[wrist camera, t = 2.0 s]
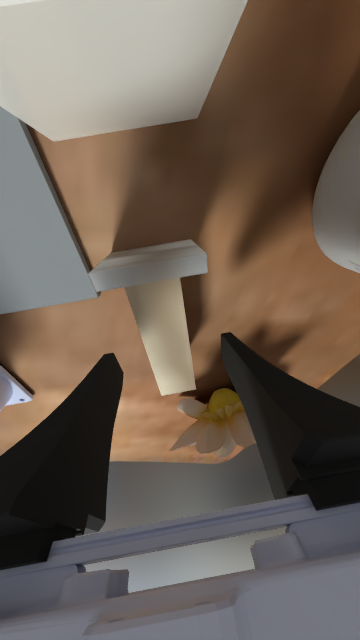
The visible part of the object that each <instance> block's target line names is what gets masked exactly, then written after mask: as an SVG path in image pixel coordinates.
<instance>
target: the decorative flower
mask: <svg viewBox="0 0 360 640" xmlns="http://www.w3.org/2000/svg"><path fill="white" fill-rule="evenodd" d="M177 409H178V410H179V411H181V412H183V413H184V414H186V415H188V416H190V417H193V418H195V419H198V421H196V422H195V423H194V424H192V425H191V426H190V427H189V428H188V429H187V430H186V431H185V432H184V433H183V434H182V435H181V436H180V437H179V439H178V440H177V442H176V443H175V444H174V445H173V447H172V448H171V449H170V450H169V451H173V450H177V449H178V448H181V447H184V446H190V445H194V444H196V449H197V451H198V452H199V453H201V454H202V453H210V452H213V453H214V454H216V455H217V456H218V457H227V456H228V455H229V454H231V453H232V452H233V450H234V449H235V447H236V445H240V446H242V447H244V448H245V447H247V446H249V445H251V444H254V443H256V440H255V438H254V435H253V432H252V429H251V426H250V424H249V421H248V418H247V415H246V413H245V410H244V407H243V405H242V403H241V400H240V398H239V396H238V394H237V393H235V392H234V391H232V390H230V389H228V388H222V389H218V390H216V391H214V393H213V394H212V396H211V398H210V400H209V404H208V407H206V406H205V404H203V403H201V402H199V401H197V400H195V399H192V398H188V399H183V400H181V401H180V403H179V404H178V406H177ZM256 444H257V443H256Z"/></svg>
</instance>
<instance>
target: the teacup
mask: <svg viewBox="0 0 360 640" xmlns="http://www.w3.org/2000/svg"><path fill="white" fill-rule="evenodd" d="M312 226H313V231H314V235H315V239H316V241H317V243H318V245H319V247H320V249H321V250H322V251H323V253H324V254H325V255H326V256H327V257H328V258H330V259H331V260H332V261H334V262H335V263H337V264H338V265H340V266H343V267H345V268H347V269H350V270H352V271H355V272H358V273H360V110H359V111H358V113H357V114H356V115H355V116H354V117H353V119H352V120H351V121H350V123H349V124H348V126H347V127H346V129H345V130H344V132H343V133H342V134H341V136H340V137H339V139H338V141H337V142H336V144H335V146H334V148H333V150H332V151H331V153H330V155H329V157H328V159H327V161H326V163H325V165H324V168H323V170H322V173H321V175H320V178H319V181H318V184H317V187H316V191H315V195H314V201H313V208H312Z"/></svg>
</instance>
